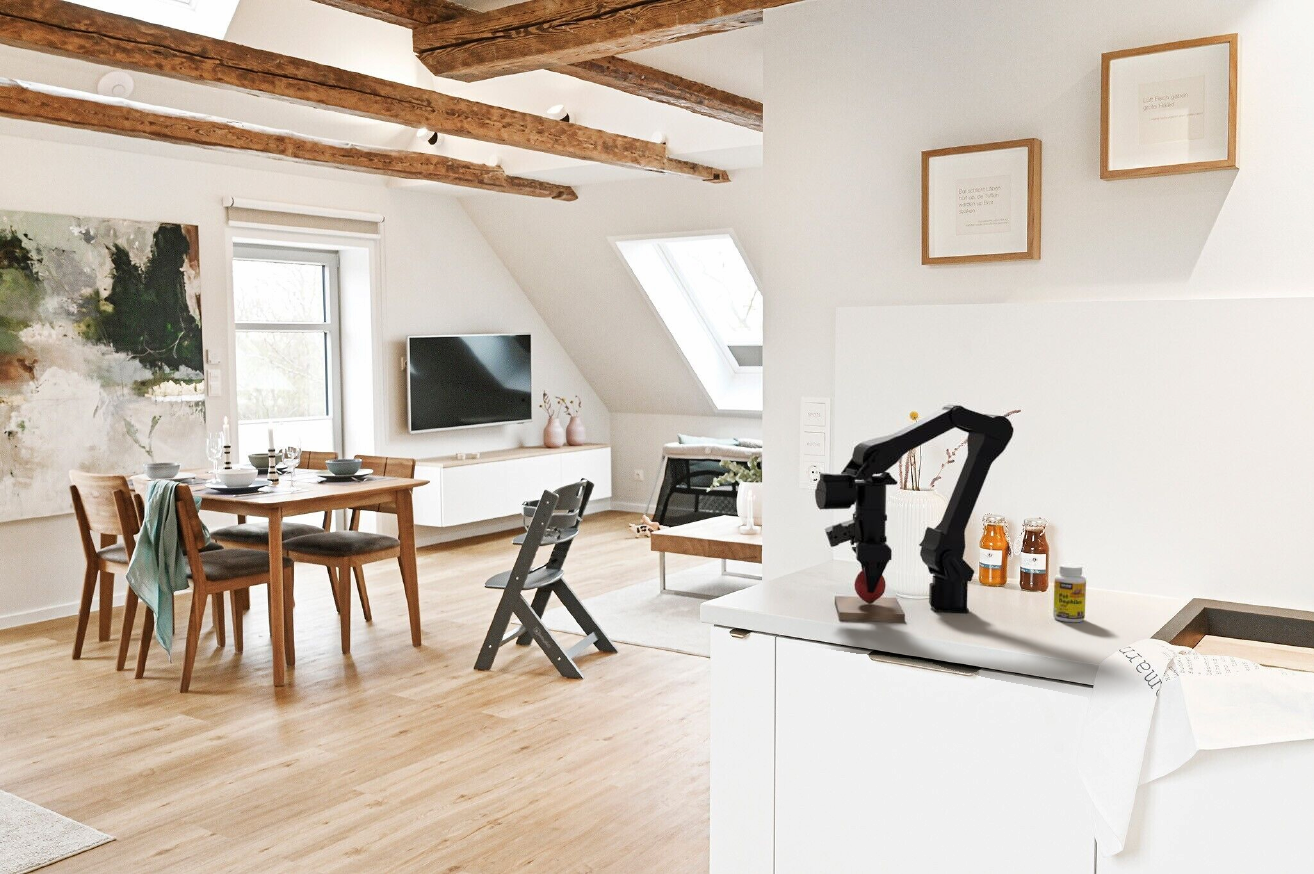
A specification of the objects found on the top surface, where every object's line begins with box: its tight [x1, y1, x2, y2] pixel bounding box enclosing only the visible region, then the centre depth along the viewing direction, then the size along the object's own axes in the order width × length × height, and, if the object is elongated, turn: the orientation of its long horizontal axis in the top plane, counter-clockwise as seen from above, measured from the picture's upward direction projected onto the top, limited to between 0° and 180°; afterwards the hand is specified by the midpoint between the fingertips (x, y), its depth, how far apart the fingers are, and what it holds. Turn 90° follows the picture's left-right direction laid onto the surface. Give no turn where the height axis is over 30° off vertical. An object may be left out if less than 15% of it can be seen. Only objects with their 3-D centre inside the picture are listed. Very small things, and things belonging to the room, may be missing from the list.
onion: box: [854, 569, 887, 604], centre depth 207 cm, size 6×6×8 cm
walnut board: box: [834, 595, 906, 623], centre depth 207 cm, size 12×14×2 cm
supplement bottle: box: [1052, 563, 1087, 623], centre depth 202 cm, size 6×6×10 cm
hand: (869, 588), depth 207 cm, fingers open, 6 cm apart
